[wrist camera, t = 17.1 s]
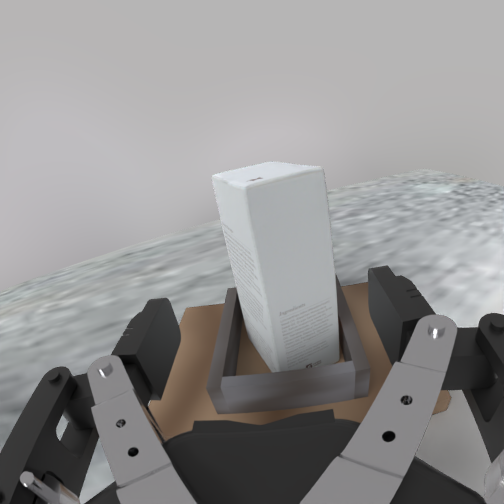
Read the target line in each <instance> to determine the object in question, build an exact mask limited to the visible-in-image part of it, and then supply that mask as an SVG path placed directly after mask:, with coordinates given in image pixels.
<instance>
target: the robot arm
mask: <svg viewBox="0 0 504 504" xmlns="http://www.w3.org/2000/svg"><path fill="white" fill-rule="evenodd" d="M368 307H369V313H370V317H371V319H372V321H373V324H374V326H375V328H376V330H377V333H378V335H379V337H380V339H381V342H382V344H383V346H384V349H385V351H386V353H387V356H388V358H389V360H390V363H391V365H392V369H391V371H390V373H389V375H388V376H387V378H386V380H385V382H384V384H383V386H382V388H381V390H380V391H379V393H378V395H377V397H376V399H375V400H374V402H373V404H372V406H371V407H370V409H369V411H368V413H367V414H366V416H365V418H364V419H363V421H362V423H359V422H356V421H352V420H346V419H336V418H335V417H334V412H333V409H329V410H323V411H316V412H309V413H302V414H296V415H293V416H290V417H287V418H284V419H281V420H277V421H274V422H271V423H267V424H263V425H256V424H249V423H242V422H236V421H230V420H200V421H194V423H193V428H192V430H191V431H187V432H184V433H181V434H179V435H176V436H174V437H172V438H170V439H168V440H167V438H166V437H165V435H164V433H163V432H162V430H161V428H160V426H159V425H158V423H157V421H156V419H155V417H154V416H153V414H152V412H151V410H150V409H149V407H148V403H149V400H159V401H161V399H162V396H163V393H164V390H165V387H166V384H167V381H168V378H169V375H170V372H171V369H172V366H173V363H174V360H175V357H176V354H177V351H178V348H179V346H180V342H181V332H180V328H179V325H178V322H177V320H176V317H175V314H174V312H173V309H172V306H171V303H170V301H169V300H168V299H167V298H160V299H151V300H149V301H148V302H147V304H146V306H145V307H144V309H143V311H142V312H139V313H138V314H137V315H136V316H135V317H134V318H133V319H132V320H131V321H130V323H129V324H128V326H127V329H125V331H124V333H123V336H121V338H120V340H119V341H118V343H117V345H116V347H115V348H114V350H113V352H112V354H111V355H108V356H104V357H101V358H99V359H97V360H96V361H95V362H93V363H92V364H91V366H90V367H89V369H88V372H87V373H86V374H81V375H77V376H73V375H72V374H71V372H70V371H69V369H68V368H66V367H56V368H54V369H52V370H50V371H49V372H47V373H46V374H45V375H44V377H43V378H42V380H41V381H40V383H39V385H38V386H37V388H36V390H35V391H34V393H33V395H32V396H31V398H30V400H29V401H28V403H27V405H26V407H25V408H24V410H23V412H22V414H21V415H20V417H19V419H18V421H17V423H16V424H15V426H14V428H13V430H12V432H11V434H10V436H9V438H8V439H7V441H6V443H5V445H4V447H3V449H2V451H1V453H0V504H80V501H79V496H80V492H81V489H82V486H83V483H84V480H85V477H86V474H87V471H88V468H89V465H90V462H91V459H92V456H93V453H94V450H95V447H96V444H97V441H98V439H99V437H100V440H101V443H102V446H103V449H104V452H105V454H106V457H107V460H108V463H109V465H110V468H111V471H112V473H113V476H114V478H115V482H113V483H112V484H111V485H109V486H108V487H107V488H105V489H104V490H103V491H101V492H100V493H98V494H97V495H96V496H94V497H93V498H92V499H90V500H89V501H87V502H86V503H85V504H504V315H502V314H498V313H490V314H487V315H485V316H483V317H482V318H481V319H480V321H479V325H478V327H475V328H457V326H456V324H455V322H454V321H453V320H451V319H450V318H448V317H446V316H443V315H436V314H435V312H434V311H433V309H432V308H431V307H430V305H429V304H428V303H427V301H426V300H425V299H424V297H423V296H421V293H420V292H419V291H418V290H417V288H416V287H415V285H414V284H413V283H412V281H410V280H409V279H407V278H405V277H403V276H395V275H394V273H393V272H392V271H391V269H390V268H389V267H388V266H382V267H376V268H370V269H369V271H368ZM440 390H462V391H463V393H464V395H465V397H466V400H467V402H468V404H469V406H470V409H471V411H472V413H473V416H474V418H475V421H476V423H477V425H478V428H479V430H480V433H481V436H482V438H483V441H484V443H485V446H486V449H487V451H488V454H489V457H490V460H491V463H492V464H491V465H490V467H489V468H488V470H487V472H486V474H485V480H484V483H485V495H484V498H482V497H481V496H480V495H479V494H478V493H477V492H475V491H473V490H472V489H470V488H468V487H466V486H464V485H463V484H461V483H459V482H457V481H456V480H454V479H452V478H450V477H449V476H447V475H445V474H444V473H442V472H440V471H439V470H437V469H435V468H434V467H432V466H430V465H429V464H427V463H425V462H424V461H422V460H421V459H419V458H417V457H416V456H415V454H416V451H417V449H418V447H419V445H420V442H421V440H422V438H423V435H424V433H425V431H426V428H427V426H428V423H429V421H430V418H431V415H432V413H433V410H434V407H435V405H436V402H437V399H438V396H439V393H440ZM62 414H63V416H64V417H65V418H66V419H67V421H68V425H67V427H66V429H65V431H64V434H63V436H62V438H61V441H59V439H58V438H57V435H56V427H57V425H58V423H59V420H60V418H61V416H62Z"/></svg>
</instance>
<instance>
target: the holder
mask: <svg viewBox="0 0 504 504" xmlns="http://www.w3.org/2000/svg"><path fill="white" fill-rule="evenodd" d="M335 275H336V273H335ZM336 290H337V308H338V327H339V356H340V358H339V361H337V362H336V363H334V364H330V365H324V366H318V367H311V368H304V369H297V370H289V371H281V372H271V370H270V369H269V367H268V366H267V364H266V363H265V361H264V360H263V359H262V357H261V356H260V354H259V353H258V351H257V350H256V348H255V347H254V345H253V344H252V342H251V341H250V339H249V338H248V334H247V330H246V326H245V321H244V317H243V313H242V309H241V305H240V300H239V296H238V292H237V288H228V290H227V295H226V299H225V303H224V304H216V305H208V306H199V307H190V308H186V310H185V312H184V315H183V317H182V320H181V322H180V325H179V328H180V332H181V342H180V346H179V348H178V351H177V354H176V357H175V360H174V363H173V366H172V369H171V372H170V375H169V378H168V381H167V384H166V387H165V390H164V393H163V396H162V399H161V401H159V400H151V401H150V404H149V409H150V410H151V412H152V414H153V416H154V417H155V419H156V421H157V423H158V425H159V426H160V428H161V430H162V432H163V433H164V435H165V437H166V438H167V440H168V439H170V438H172V437H174V436H176V435H179V434H181V433H184V432H187V431H191V430H192V428H193V423H194V421H200V420H230V421H236V422H242V423H249V424H256V425H263V424H267V423H271V422H274V421H277V420H281V419H284V418H287V417H290V416H293V415H296V414H302V413H309V412H316V411H323V410H329V409H333V412H334V417H335V418H336V419H346V420H352V421H356V422H359V423H362V421H363V419H364V418H365V416H366V414H367V413H368V411H369V409H370V407H371V406H372V404H373V402H374V400H375V399H376V397H377V395H378V393H379V391H380V390H381V388H382V386H383V384H384V382H385V380H386V378H387V376H388V375H389V373H390V371H391V369H392V365H391V363H390V360H389V358H388V356H387V353H386V351H385V349H384V346H383V344H382V342H381V339H380V337H379V335H378V333H377V330H376V328H375V326H374V324H373V321H372V319H371V317H370V313H369V307H368V282H365V283H360V284H354V285H348V286H342V287H341V286H340V283H339V280H338V278H337V275H336ZM450 400H451V396H450V394H449V392H448V390H440V393H439V396H438V399H437V402H436V405H435V407H434V410H433V413H432V415H433V414H436V413H439V412H442V411H445V410H447V407H448V405H449V402H450Z"/></svg>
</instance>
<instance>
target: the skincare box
mask: <svg viewBox="0 0 504 504" xmlns="http://www.w3.org/2000/svg"><path fill="white" fill-rule="evenodd" d="M212 182H213V187H214V191H215V196H216V201H217V205H218V210H219V214H220V219H221V224H222V228H223V233H224V237H225V241H226V246H227V250H228V254H229V259H230V263H231V267H232V271H233V275H234V280H235V284H236V288H237V292H238V296H239V300H240V305H241V309H242V313H243V317H244V321H245V326H246V330H247V334H248V338H249V339H250V341H251V342H252V344H253V345H254V347H255V348H256V350H257V351H258V353H259V354H260V356H261V357H262V359H263V360H264V361H265V363H266V364H267V366H268V367H269V369H270V370H271V372H281V371H289V370H297V369H304V368H311V367H318V366H324V365H330V364H334V363H336V362H337V361H339V358H340V356H339V327H338V308H337V290H336V275H335V264H334V252H333V242H332V232H331V222H330V214H329V205H328V197H327V189H326V182H325V173H324V169H323V167H319V166H308V165H298V164H291V163H282V162H266V163H261V164H257V165H252V166H249V167H244V168H240V169H235V170H231V171H227V172H222V173H218V174H214V175H213V176H212Z"/></svg>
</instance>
